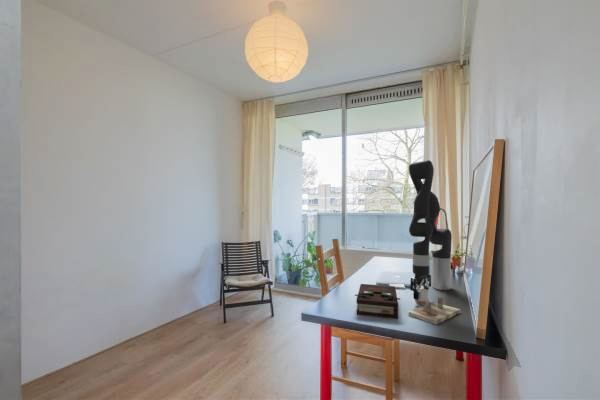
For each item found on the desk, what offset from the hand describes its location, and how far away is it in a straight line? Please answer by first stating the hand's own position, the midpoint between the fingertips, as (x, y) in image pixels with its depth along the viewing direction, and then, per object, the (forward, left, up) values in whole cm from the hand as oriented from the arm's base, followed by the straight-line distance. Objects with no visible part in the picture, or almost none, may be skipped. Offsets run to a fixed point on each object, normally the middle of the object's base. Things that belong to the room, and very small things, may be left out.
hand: (421, 297), depth 138 cm
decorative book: (+21, -10, -3) cm, 23 cm away
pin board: (+9, +11, -2) cm, 14 cm away
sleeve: (0, 0, -2) cm, 2 cm away
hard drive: (-15, -24, -3) cm, 29 cm away
